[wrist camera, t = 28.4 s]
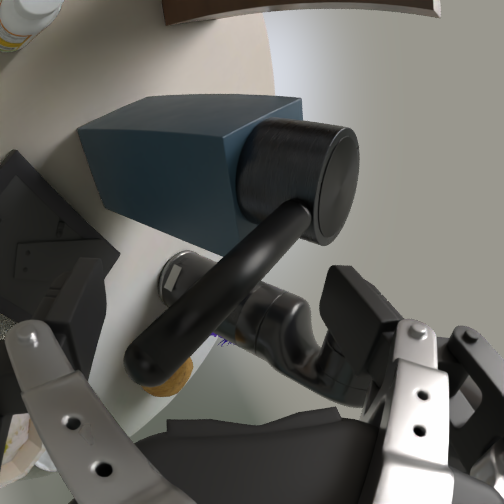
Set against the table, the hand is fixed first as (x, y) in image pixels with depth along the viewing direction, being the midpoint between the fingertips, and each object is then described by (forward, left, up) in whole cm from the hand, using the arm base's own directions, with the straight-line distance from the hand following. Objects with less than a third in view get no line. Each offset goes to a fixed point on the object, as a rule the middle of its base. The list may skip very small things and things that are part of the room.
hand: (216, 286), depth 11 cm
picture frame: (-7, +4, -26) cm, 27 cm away
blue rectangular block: (-7, -12, -26) cm, 29 cm away
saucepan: (-4, -5, -6) cm, 9 cm away
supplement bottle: (+13, -8, -26) cm, 30 cm away
